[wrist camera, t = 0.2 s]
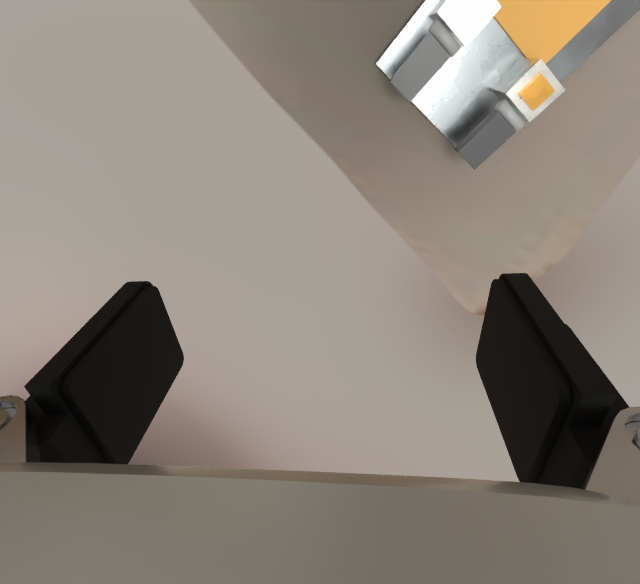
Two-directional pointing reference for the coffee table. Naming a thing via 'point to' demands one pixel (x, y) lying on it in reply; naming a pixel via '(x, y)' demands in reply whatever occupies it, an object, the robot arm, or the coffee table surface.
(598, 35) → the panel
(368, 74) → the coffee table surface
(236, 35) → the coffee table surface
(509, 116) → the lever
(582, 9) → the pad
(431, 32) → the lever
